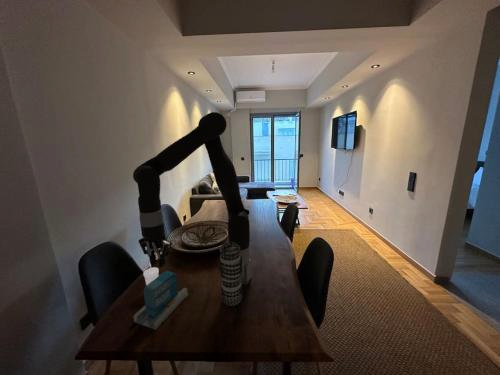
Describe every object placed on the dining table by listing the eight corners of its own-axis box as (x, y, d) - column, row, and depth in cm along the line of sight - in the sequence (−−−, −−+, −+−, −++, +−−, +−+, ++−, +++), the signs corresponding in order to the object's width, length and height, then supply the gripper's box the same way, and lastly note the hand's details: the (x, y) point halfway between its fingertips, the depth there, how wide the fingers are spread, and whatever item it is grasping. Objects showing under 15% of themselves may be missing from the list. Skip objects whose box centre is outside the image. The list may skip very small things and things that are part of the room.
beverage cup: (162, 283, 95) (159, 256, 92) (159, 293, 89) (155, 264, 86) (148, 285, 94) (144, 258, 91) (144, 295, 88) (139, 266, 85)
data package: (155, 319, 75) (151, 291, 72) (146, 316, 76) (142, 288, 74) (178, 297, 85) (176, 271, 83) (170, 294, 87) (167, 269, 85)
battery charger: (237, 218, 177) (237, 213, 176) (231, 215, 184) (231, 211, 183) (249, 214, 185) (249, 210, 184) (242, 211, 192) (242, 207, 191)
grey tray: (188, 295, 88) (187, 287, 87) (155, 331, 71) (154, 322, 70) (169, 290, 91) (168, 282, 90) (134, 323, 75) (132, 314, 74)
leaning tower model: (246, 306, 82) (244, 248, 76) (223, 311, 79) (219, 252, 74) (240, 290, 90) (238, 237, 85) (219, 295, 88) (216, 241, 82)
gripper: (175, 220, 74) (179, 263, 78) (145, 216, 79) (151, 256, 83) (159, 228, 67) (165, 275, 71) (128, 223, 72) (135, 267, 76)
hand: (157, 265), depth 77 cm, fingers open, 3 cm apart
